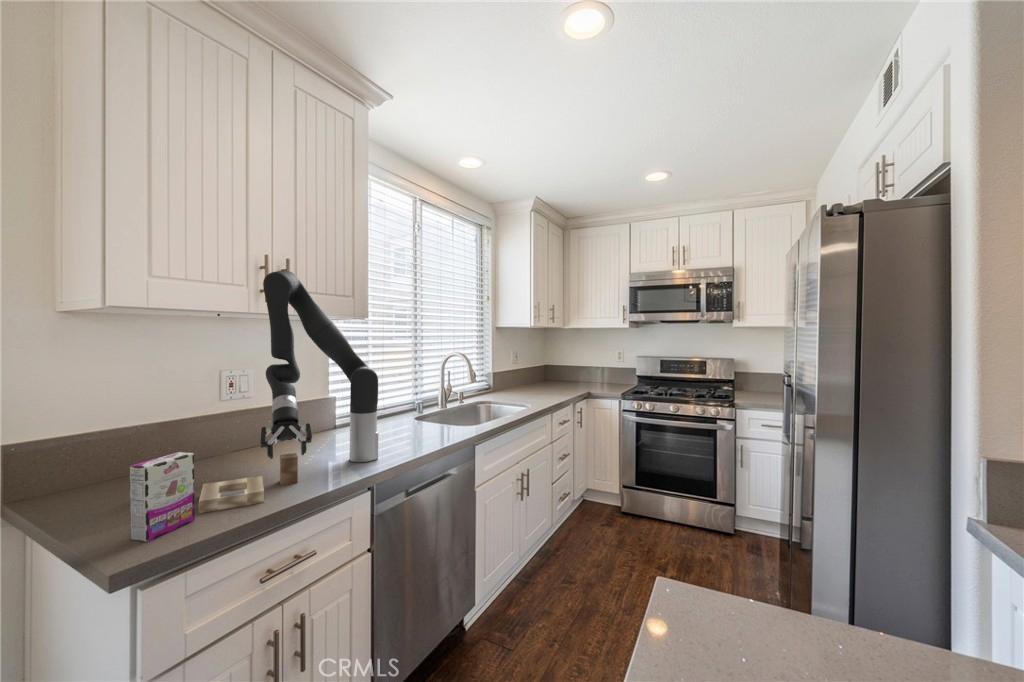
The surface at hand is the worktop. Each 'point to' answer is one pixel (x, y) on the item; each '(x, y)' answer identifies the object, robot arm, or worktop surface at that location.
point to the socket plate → (231, 494)
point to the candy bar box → (161, 495)
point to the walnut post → (288, 469)
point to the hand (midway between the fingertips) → (287, 455)
